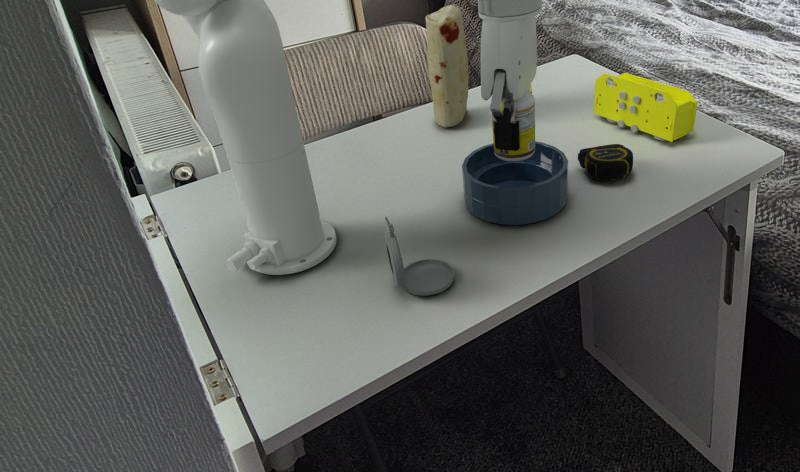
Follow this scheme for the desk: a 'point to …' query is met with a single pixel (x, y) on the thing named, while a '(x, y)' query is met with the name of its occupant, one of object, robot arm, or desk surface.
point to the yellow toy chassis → (645, 105)
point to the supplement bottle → (521, 129)
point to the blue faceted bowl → (515, 185)
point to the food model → (447, 65)
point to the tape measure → (606, 161)
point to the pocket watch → (417, 270)
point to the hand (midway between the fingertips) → (514, 137)
